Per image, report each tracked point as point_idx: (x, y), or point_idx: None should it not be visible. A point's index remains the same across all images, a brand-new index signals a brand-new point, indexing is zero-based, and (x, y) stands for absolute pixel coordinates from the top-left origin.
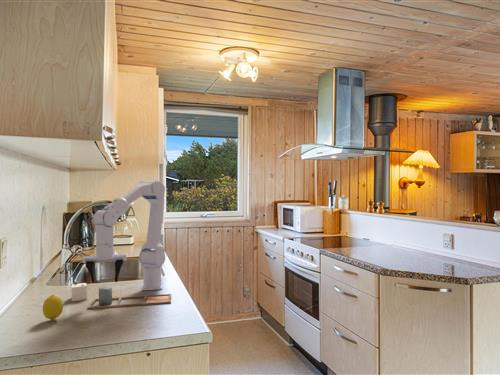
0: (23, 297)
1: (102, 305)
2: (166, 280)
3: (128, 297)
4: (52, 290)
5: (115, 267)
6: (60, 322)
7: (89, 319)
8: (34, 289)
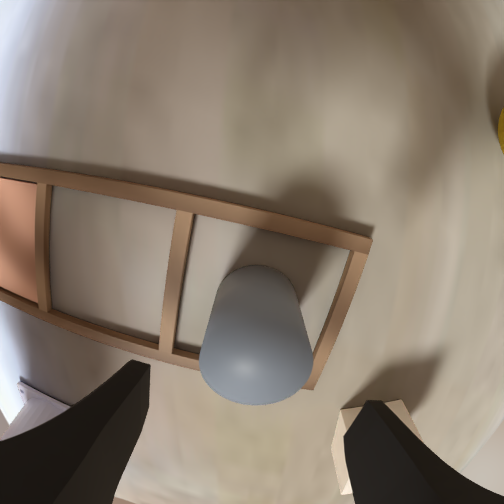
0: (478, 446)
1: (277, 271)
2: None
3: (122, 339)
4: None
5: (51, 489)
6: (476, 85)
7: (359, 36)
8: None
